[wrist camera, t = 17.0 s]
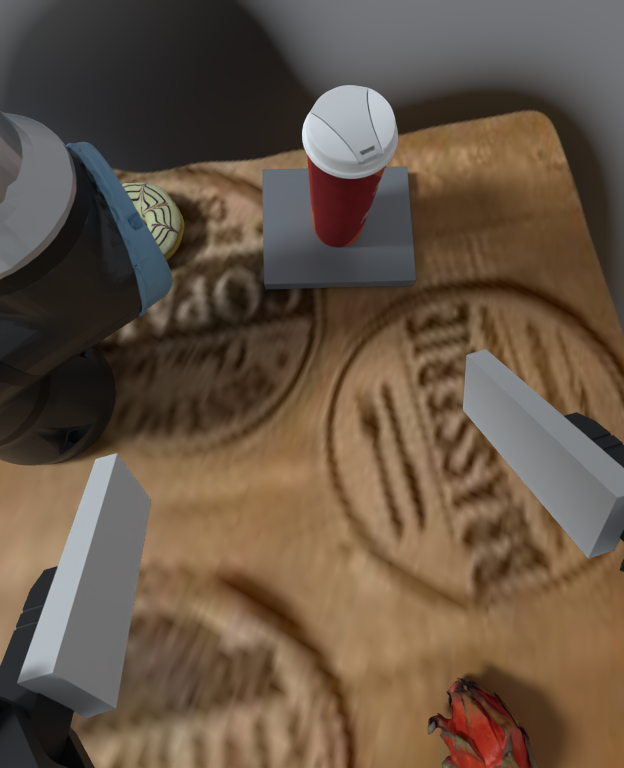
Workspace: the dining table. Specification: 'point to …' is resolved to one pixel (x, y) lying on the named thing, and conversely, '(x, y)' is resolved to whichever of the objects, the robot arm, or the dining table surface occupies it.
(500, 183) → the dining table surface
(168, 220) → the decorated donut
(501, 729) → the dragon fruit
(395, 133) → the coffee cup
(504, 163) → the dining table surface
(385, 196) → the slate board
